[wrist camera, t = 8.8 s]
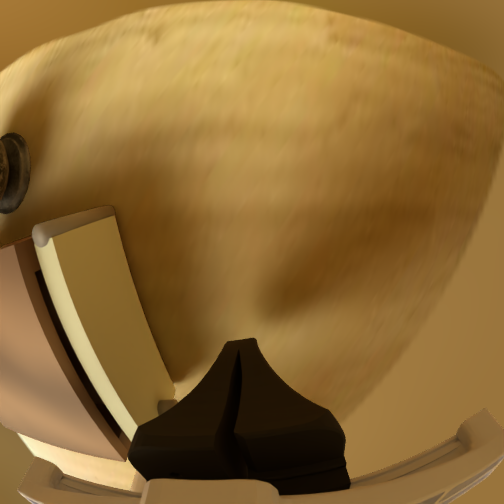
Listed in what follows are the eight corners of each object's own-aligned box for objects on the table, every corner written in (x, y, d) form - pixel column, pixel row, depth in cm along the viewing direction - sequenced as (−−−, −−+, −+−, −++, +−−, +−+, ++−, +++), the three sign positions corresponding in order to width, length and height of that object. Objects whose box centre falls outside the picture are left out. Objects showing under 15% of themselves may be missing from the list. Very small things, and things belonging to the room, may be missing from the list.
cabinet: (152, 386, 15) (125, 462, 9) (40, 379, 16) (4, 426, 9) (95, 216, 13) (14, 244, 7) (-12, 251, 13) (-71, 278, 7)
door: (188, 386, 15) (172, 457, 10) (162, 387, 15) (140, 455, 10) (128, 198, 12) (62, 214, 7) (99, 207, 12) (28, 227, 7)
